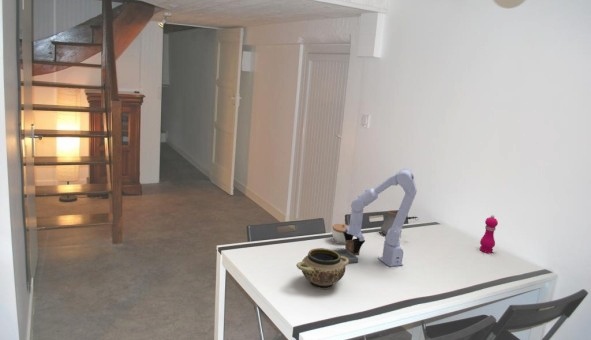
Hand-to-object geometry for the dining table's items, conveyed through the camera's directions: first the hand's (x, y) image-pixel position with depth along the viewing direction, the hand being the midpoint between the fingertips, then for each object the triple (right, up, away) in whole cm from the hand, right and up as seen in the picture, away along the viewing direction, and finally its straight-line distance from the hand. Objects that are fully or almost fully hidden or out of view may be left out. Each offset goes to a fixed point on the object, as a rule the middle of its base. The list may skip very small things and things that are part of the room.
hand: (352, 249), depth 219 cm
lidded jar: (-4, +1, +15) cm, 15 cm away
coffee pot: (+28, +1, +29) cm, 40 cm away
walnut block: (0, -2, 0) cm, 2 cm away
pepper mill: (+73, -5, +21) cm, 76 cm away
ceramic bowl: (-17, -8, -35) cm, 39 cm away
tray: (-6, -3, -8) cm, 10 cm away
